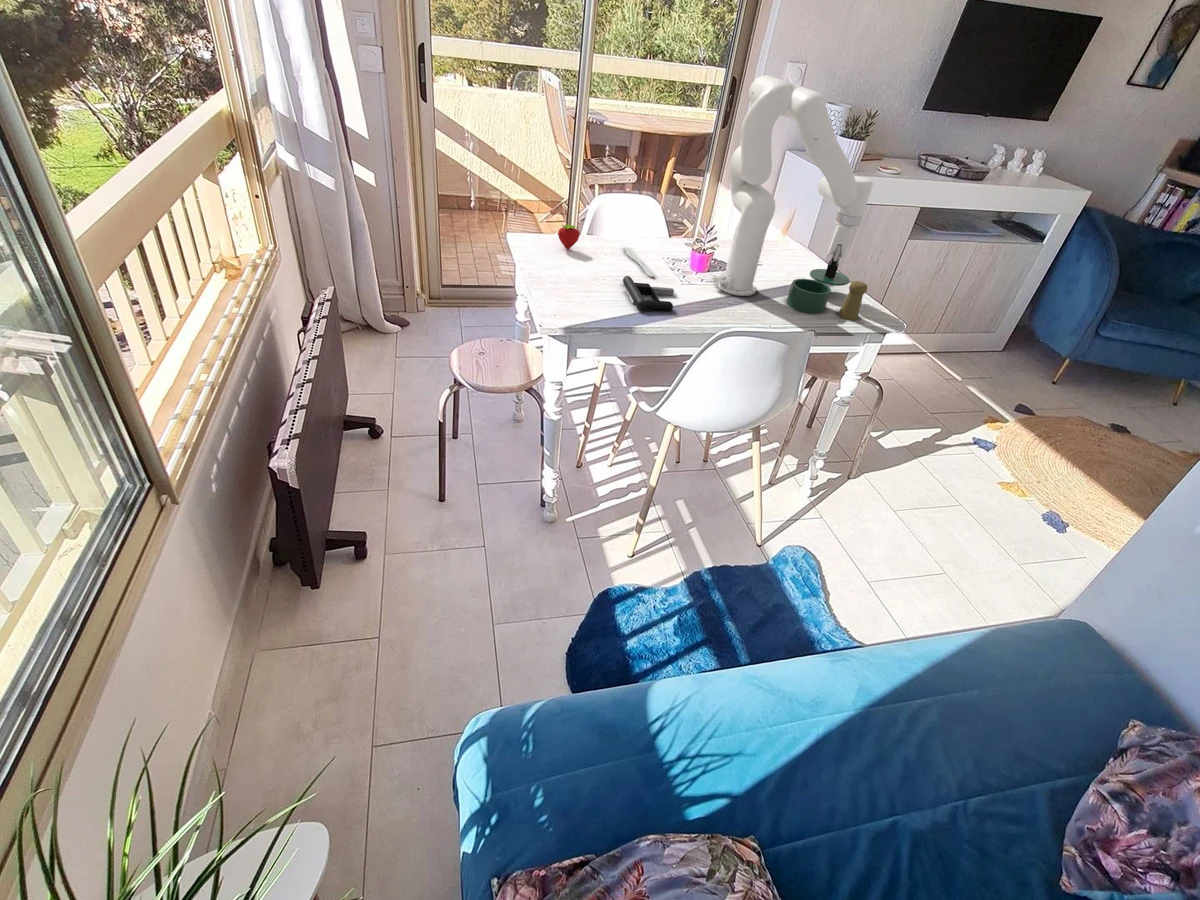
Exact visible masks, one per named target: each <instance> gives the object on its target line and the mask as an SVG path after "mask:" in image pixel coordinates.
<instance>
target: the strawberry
mask: <svg viewBox="0 0 1200 900" xmlns="http://www.w3.org/2000/svg"><path fill="white" fill-rule="evenodd" d="M569 223H570V221H568V222H567V224H561V228H559V229H558V232H557V236H558V239H559V241H560V243H561V244H562V245H563V247H564V249H566V250H570V249H571V248H572V247H573V246H574V245H575V244H576V243H577V242H578V241H579V238H580V235H581V234H580V231H579V230H578V228H577V226H574V224H573V225H572V224H569Z"/></svg>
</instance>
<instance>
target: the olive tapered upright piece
mask: <svg viewBox="0 0 1200 900" xmlns="http://www.w3.org/2000/svg"><path fill="white" fill-rule="evenodd" d="M848 288H849V289H848V290H849V292H848V294H847V296H846V297H845V300H844V302H843V303H842V305H841V307H840V309H839V311H838V314H837V315H838V316H839V317H841V318H842V319H845V320H849V321H856V320H858V319H859V314H860V310H861V305H862V301H863V296H864V295H865V294H866V293H867V290H868V284H866V283H865V282H864V281H860V280H853V281H852V282H850V283H849V286H848Z"/></svg>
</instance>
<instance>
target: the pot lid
mask: <svg viewBox="0 0 1200 900" xmlns="http://www.w3.org/2000/svg"><path fill="white" fill-rule="evenodd" d="M831 263H832V262H831ZM826 270H827V268H815V269H812V270H810V272H809V276H810V277H811V279H812V280H815V281H818V282H821V283H823V284H825V285H829V286H835V287H836V286H837V287H839V286H841V287H843V286H848V284H850V278H849V277H848V276H847V275H845V274H844V273H842V272H839V271H837V272H836V275H835V278H831V277H826V276H825V273H826Z"/></svg>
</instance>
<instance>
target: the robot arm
mask: <svg viewBox="0 0 1200 900" xmlns="http://www.w3.org/2000/svg"><path fill="white" fill-rule="evenodd" d="M748 90H749V91H748V98H749V101H750V103H751V106H750V107H749V109H748V110H747V112H746V114H745V116H744V118H743V121H742V124H741V129H740V145H739V146H738V147H737V148H736V149H735V150H734V151H733V154H732V155H731V158H730V164H729V170H730V171H729V172H730V173H729V177H730V194H731V201H732V204H733V206H734V208H735V209H736V210H737V211H738V212H739V213H740V218H739V220H738V222H737V224H736V227H735V230H734V233H733V237H732V242H731V247H730V251H729V255H728V259H727V264H726V268H725V272H721V275H719V276H711V277H710V283H711V284H717V288H718V289H720V290H721V291H722V292H725V293H727V294H729V295H734V296H738V297H750V296H753V295H755V294H756V291H757V287H756V285H755V284H754V281H755V277H756V273H757V269H758V266H759V262H760V258H761V254H762V251H763V246H764V242H765V238H766V235H767V232H768V229H769V226H770V224H771V222H772V220H773V217H774V215H775V211H776V200H775V198H774V196H773V194H772V193H771V192H770V191H769V190H768V189H766V188H765V187H764V186H762V185H763V184H765V183H767V181H768V180H769V178H770V176H771V174H772V168H773V165H772V164H773V163H772V159H773V158H772V134H773V128H774V127H775V123H776V122H777V120H778V119H779V117H780V116H781V117H783V118H787V119H791V120H792V121H794V122H795V123H796V125H797V129H798V131H799V134H800V137H801V140H802V143H803V145H804V149H805V152H806V155H808V158H809V159H810V160H811V162H812V163H813V164H814V165H815V166H816V167H817V168H818V169H819V170H820V172H821V173H822V175H823V176H822V177H821V178H820V180H819V181H818V184H817V191H818V194H819V195H820V196H821V197H822V198H823V199H825V201H828V202H829V203H831V204H833V206H835V207H837V208H838V210H837V214H836V217H835V220H834V223H835V224H836V227H835V229H834V233H833V235H832V238H831V242H830V245H829V248H828V251H827V256H831V257H830V260H829V261H828V263H827V267H826V269H827V270H826V273H825V276H826V277H831V278H835V275H836V272H838V268H839V265H840V260H841V259H842V258H844V255H845V254H846V252H847V249H848V246H849V244H850V241H851V238H852V236H853V233H854V230H855V229H856V228H859V227H860V224H861V221H862V218H863V215H864V212H865V211H866V207H867V203H868V201H869V198H870V195H871V192H872V189H873V185H874V184H873V180H872V179H870V178H867V177H864V176H857V175H855V174H854V171H853V168H852V165H851V163H850V162H849V160H848V158H847V156H846V154H845V152H844V150H843V149H842V147H841V145H840V144H839V141H838V139H837V137H836V134H835V130H834V128H833V125H832V124H833V123H832V121H831V117H830V114H829V111H828V107H827V104H826V101H825V99H824V97H823V96H822V94H821V93H819V92H818V91H816V90H812V89H810V88H807V87H804V86H801V85H797V84H794V83H792V82H788V81H786V80H783V79H780V78H777V77H774V76H772V75H767V74H763V75H760V76H759V77H757V78H756V79H754V81H752V83H751V84H750V87H749V89H748ZM831 262H832V263H831Z"/></svg>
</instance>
